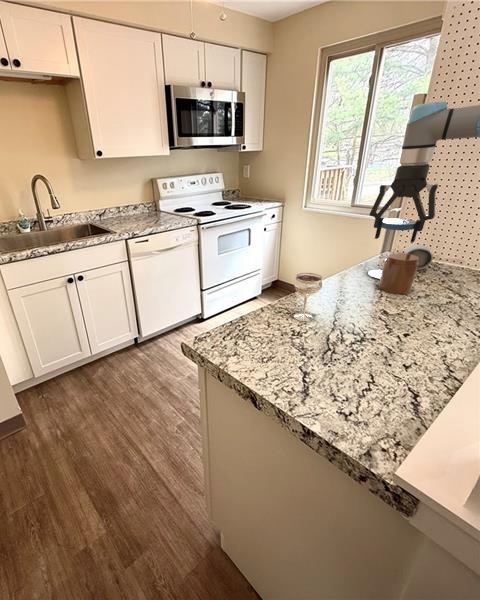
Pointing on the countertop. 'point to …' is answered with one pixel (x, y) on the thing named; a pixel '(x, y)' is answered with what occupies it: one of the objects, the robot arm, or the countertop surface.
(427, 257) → the ceramic mug
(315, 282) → the wineglass
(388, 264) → the jam jar
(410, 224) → the jar lid
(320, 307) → the countertop surface
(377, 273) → the coaster
